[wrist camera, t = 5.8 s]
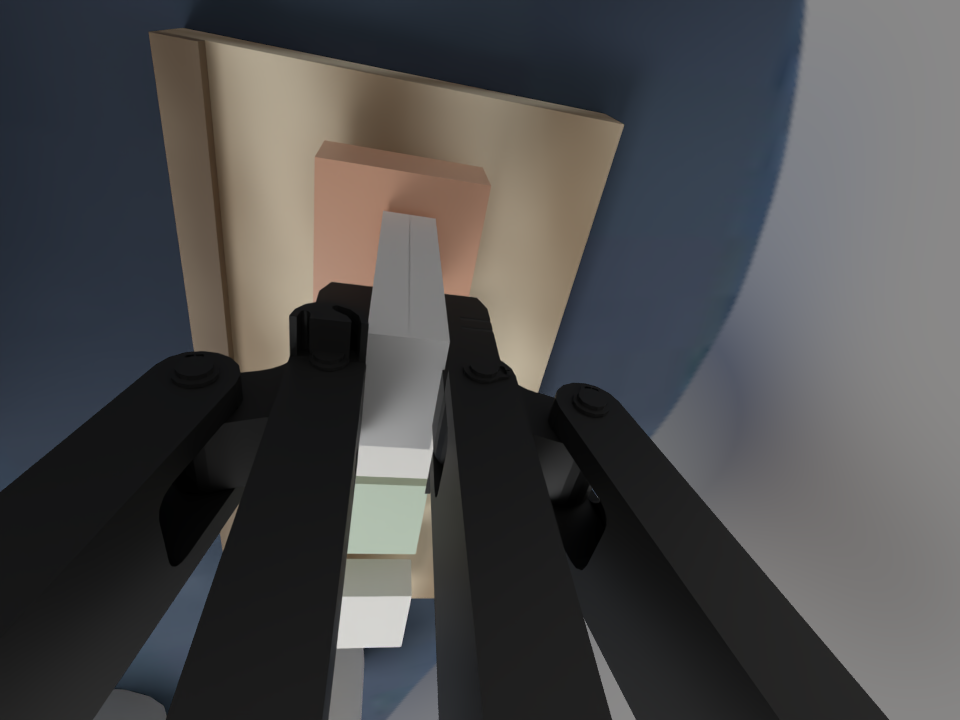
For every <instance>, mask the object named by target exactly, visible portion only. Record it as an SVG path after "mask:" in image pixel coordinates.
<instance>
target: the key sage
mask: <svg viewBox="0 0 960 720" xmlns="http://www.w3.org/2000/svg"><path fill="white" fill-rule="evenodd" d="M426 484H427V479H419V478H395V477H371V476H356V481H355V490H354V499H353V507H352V516H351V525H350V534H349V543H348V552H347V554H416V549H417V544H418V539H419V534H420V529H421V524H422V519H423V514H424V509H425V504H426V499H427V494H425V489H426Z"/></svg>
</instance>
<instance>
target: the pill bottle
mask: <svg viewBox="0 0 960 720" xmlns="http://www.w3.org/2000/svg"><path fill="white" fill-rule="evenodd" d="M363 676H364V650H363V648H340V649H336V658H335V666H334V675H333V684H332V693H331V702H330V711H329V719H328V720H361V712H362V694H363Z"/></svg>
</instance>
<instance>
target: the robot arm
mask: <svg viewBox="0 0 960 720" xmlns="http://www.w3.org/2000/svg"><path fill="white" fill-rule="evenodd" d="M289 345H290V357H289V360H288V362H287V363H285V364H283V365H280V366H277V367H274V368H271V369H265V370H259V371H250V372H241V373H240V368H239V365H238V364H237V363H236V362H235V361H234V360H233V359H232V358H231V357H228V356H226V355H223V354H220V353H216V352H207V351H196V352H185V353H181V354H178V355H175V356H171V357H168V358H166V359H165V360H163V361H161V362H160V363H158V364H156V365H155V366H154V367H152V368H151V369H150V370H149V371H147V372H146V373H145V374H144V375H143V376H141V377H140V378H139V379H138V380H136V381H135V382H134V383H133V384H132V385H130V386H129V387H128V388H127V389H125V390H124V391H123V392H122V393H121V394H119V395H118V396H117V397H116V398H114V399H113V400H112V401H111V402H110V403H108V404H107V405H106V406H105V407H104V408H102V409H101V410H100V411H99V412H97V413H96V414H95V415H94V416H93V417H91V418H90V419H89V420H88V421H86V422H85V423H84V424H83V425H82V426H80V427H79V428H78V429H77V430H75V431H74V432H73V433H72V434H71V435H69V436H68V437H67V438H66V439H64V440H63V441H62V442H61V443H60V444H58V445H57V446H56V447H55V448H53V449H52V450H51V451H50V452H49V453H47V454H46V455H45V456H44V457H43V458H41V459H40V460H39V461H38V462H36V463H35V464H34V465H33V466H32V467H30V468H29V469H28V470H27V471H25V472H24V473H23V474H22V475H21V476H19V477H18V478H17V479H16V480H14V481H13V482H12V483H11V484H10V485H8V486H7V487H6V488H5V489H3V490H2V491H1V492H0V720H93V719H94V717H95V716H96V715H97V713H98V712H99V710H100V709H101V707H102V706H103V704H104V703H105V701H106V700H107V698H108V697H109V695H110V694H111V692H112V691H113V689H114V688H115V686H116V685H117V683H118V682H119V681H120V679H121V678H122V676H123V675H124V673H125V672H126V670H127V669H128V667H129V666H130V664H131V663H132V661H133V660H134V658H135V657H136V655H137V654H138V652H139V651H140V649H141V648H142V647H143V645H144V644H145V642H146V641H147V639H148V638H149V636H150V635H151V633H152V632H153V630H154V629H155V627H156V626H157V624H158V623H159V621H160V620H161V618H162V617H163V615H164V614H165V612H166V611H167V610H168V608H169V607H170V605H171V604H172V602H173V601H174V599H175V598H176V596H177V595H178V593H179V592H180V590H181V589H182V587H183V586H184V584H185V583H186V581H187V580H188V578H189V577H190V576H191V574H192V573H193V571H194V570H195V568H196V567H197V565H198V564H199V562H200V561H201V559H202V558H203V556H204V555H205V553H206V552H207V550H208V549H209V547H210V546H211V544H212V543H213V542H214V540H215V539H216V537H217V536H218V534H219V533H220V531H221V530H222V528H223V527H224V525H225V524H226V522H227V521H228V519H229V518H230V516H231V515H232V513H233V512H234V510H235V509H236V508H237V506H238V505H239V506H238V509H237V512H236V515H235V518H234V521H233V524H232V527H231V530H230V533H229V535H228V538H227V541H226V544H225V547H224V550H223V553H222V556H221V559H220V562H219V565H218V568H217V571H216V574H215V577H214V579H213V582H212V585H211V588H210V591H209V594H208V597H207V600H206V603H205V606H204V609H203V612H202V615H201V618H200V621H199V623H198V626H197V629H196V632H195V635H194V638H193V641H192V644H191V647H190V650H189V653H188V656H187V659H186V662H185V665H184V667H183V670H182V673H181V676H180V679H179V682H178V685H177V688H176V691H175V694H174V697H173V700H172V703H171V706H170V709H169V711H168V714H167V717H166V720H328V719H329V711H330V702H331V693H332V684H333V675H334V666H335V658H336V649H337V640H338V631H339V622H340V613H341V605H342V596H343V587H344V578H345V569H346V560H347V552H348V543H349V534H350V525H351V516H352V507H353V499H354V490H355V481H356V472H357V463H358V451H359V445H361V446H378V447H395V448H412V449H429V450H430V445H431V440H432V435H433V453H432V458H431V463H430V468H429V474H428V479H427V484H426V489H425V494H430V493H431V520H432V547H433V574H434V601H435V628H436V655H437V682H438V709H439V720H612V718H611V715H610V711H609V707H608V704H607V700H606V697H605V693H604V689H603V686H602V682H601V679H600V675H599V671H598V668H597V664H596V661H595V657H594V653H593V650H592V646H591V643H590V640H589V636H588V632H587V629H586V625H585V622H584V619H585V621H586V623H587V625H588V627H589V629H590V631H591V633H592V635H593V637H594V639H595V641H596V642H597V644H598V646H599V648H600V650H601V652H602V654H603V656H604V658H605V660H606V662H607V664H608V666H609V668H610V670H611V672H612V674H613V676H614V678H615V680H616V681H617V683H618V685H619V687H620V689H621V691H622V693H623V695H624V697H625V699H626V701H627V703H628V705H629V707H630V709H631V710H632V712H633V715H634V716H635V718H636V720H889V719H888V718H887V717H886V715H885V714H884V713H883V712H882V711H881V710H880V708H879V707H878V706H877V705H876V704H875V702H874V701H873V700H872V699H871V698H870V697H869V695H868V694H867V693H866V692H865V691H864V690H863V688H862V687H861V686H860V685H859V684H858V682H857V681H856V680H855V679H854V678H853V677H852V675H851V674H850V673H849V672H848V671H847V670H846V668H845V667H844V666H843V665H842V664H841V663H840V661H839V660H838V659H837V658H836V657H835V656H834V654H833V653H832V652H831V651H830V649H829V648H828V647H827V646H826V645H825V644H824V642H823V641H822V640H821V639H820V638H819V637H818V635H817V634H816V633H815V632H814V631H813V629H812V628H811V627H810V626H809V625H808V624H807V622H806V621H805V620H804V619H803V618H802V617H801V616H800V614H799V613H798V612H797V611H796V610H795V608H794V607H793V606H792V605H791V604H790V603H789V601H788V600H787V599H786V598H785V597H784V595H783V594H782V593H781V592H780V591H779V589H778V588H777V587H776V586H775V585H774V584H773V582H772V581H771V580H770V579H769V578H768V577H767V575H765V573H764V572H763V571H762V570H761V568H760V567H759V566H758V565H757V564H756V563H755V561H754V560H753V559H752V558H751V557H750V555H749V554H748V553H747V552H746V551H745V549H744V548H743V547H742V546H741V545H740V544H739V543H738V541H737V540H736V539H735V538H734V537H733V535H732V534H731V533H730V532H729V531H728V530H727V528H726V527H725V526H724V525H723V524H722V522H721V521H720V520H719V519H718V518H717V517H716V515H715V514H714V513H713V512H712V511H711V510H710V508H709V507H708V506H707V505H706V504H705V502H704V501H703V500H702V499H701V498H700V497H699V495H698V494H697V493H696V492H695V491H694V490H693V488H692V487H691V486H690V485H689V484H688V483H687V481H686V480H685V479H684V478H683V477H682V475H681V474H680V473H679V472H678V471H677V470H676V468H675V467H674V466H673V465H672V464H671V462H670V461H669V460H668V459H667V458H666V457H665V455H664V454H663V453H662V452H661V451H660V450H659V448H658V447H657V446H656V445H655V444H654V442H653V441H652V440H651V439H650V438H649V437H648V435H647V434H646V433H645V432H644V431H643V430H642V428H641V427H640V426H639V425H638V424H637V422H636V421H635V420H634V419H633V418H632V417H631V415H630V414H629V413H628V412H627V411H626V410H625V408H624V407H623V406H622V405H621V404H620V402H619V401H618V400H616V399H615V398H614V397H613V396H612V395H611V394H609V393H608V392H606V391H604V390H602V389H600V388H598V387H596V386H592V385H589V384H584V383H570V384H566V385H563V386H562V387H561V388H559V389H558V390H557V392H556V395H555V398H553V397H550V396H547V395H543V394H540V393H537V392H534V391H531V390H528V389H526V388H524V387H522V386H520V385H518V382H517V378H516V375H515V374H514V372H513V370H512V368H510V367H509V366H508V365H507V364H505V363H504V362H503V361H501V360H500V356H499V352H498V348H497V345H496V341H495V337H494V333H493V329H492V325H491V322H490V317H489V313H488V309H487V308H486V307H485V306H484V305H483V304H482V303H481V301H480V300H479V299H478V298H475V297H467V296H459V295H451V294H444V286H443V278H442V269H441V261H440V252H439V243H438V235H437V226H436V219H435V218H428V217H422V216H415V215H408V214H402V213H395V212H388V211H383V216H382V223H381V230H380V238H379V245H378V253H377V260H376V267H375V275H374V282H373V287H372V286H363V285H355V284H347V283H338V282H330V283H329V284H328V285H326V286H325V287H324V288H322V289H321V290H319V293H318V296H317V299H316V302H313V303H307V304H304V305H302V306H300V307H298V308H295V309H294V310H293V312H292V313H291V314H290V315H289ZM592 488H593V490H594V492H595V493H596V495H597V496H598V497H597V496H596V495H595V493H594V492H593V490H592ZM583 617H584V618H583Z"/></svg>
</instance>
